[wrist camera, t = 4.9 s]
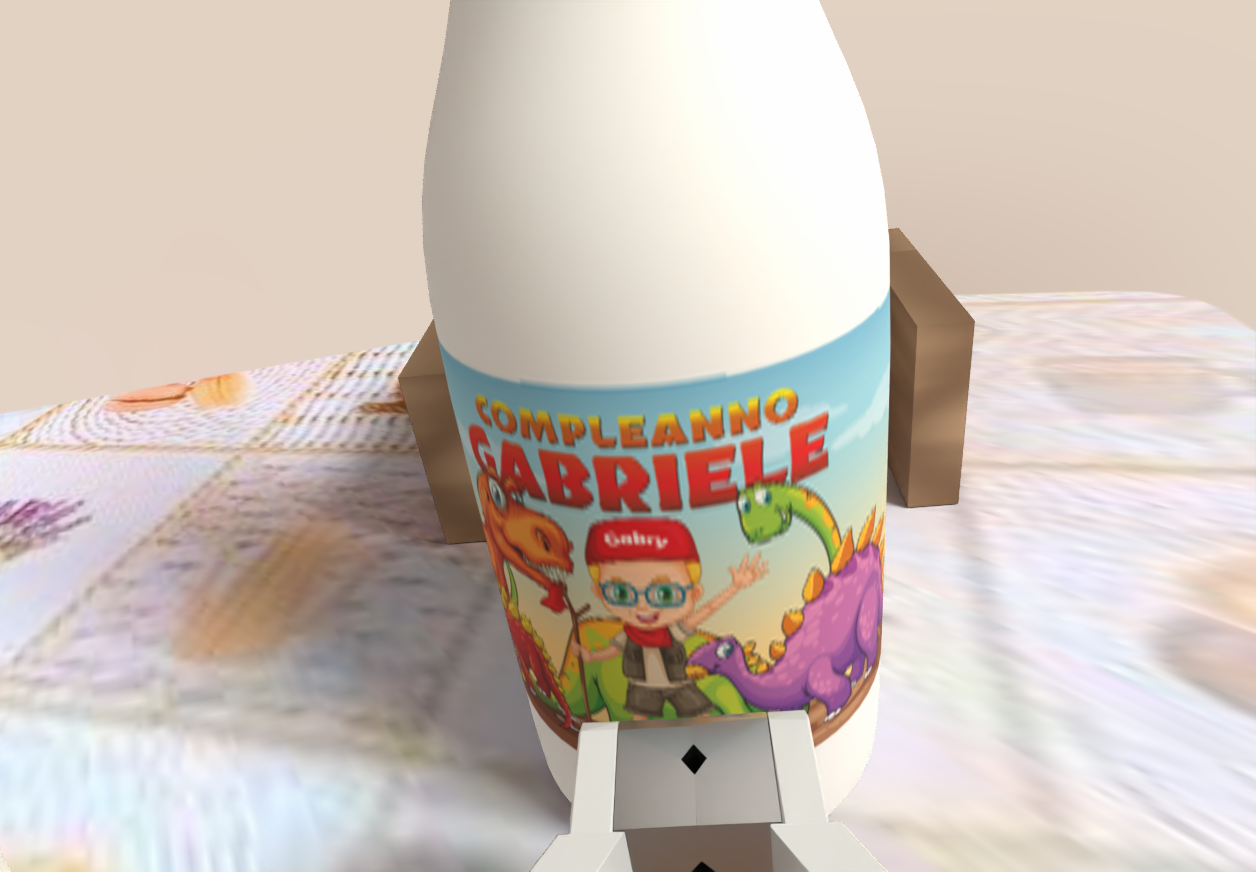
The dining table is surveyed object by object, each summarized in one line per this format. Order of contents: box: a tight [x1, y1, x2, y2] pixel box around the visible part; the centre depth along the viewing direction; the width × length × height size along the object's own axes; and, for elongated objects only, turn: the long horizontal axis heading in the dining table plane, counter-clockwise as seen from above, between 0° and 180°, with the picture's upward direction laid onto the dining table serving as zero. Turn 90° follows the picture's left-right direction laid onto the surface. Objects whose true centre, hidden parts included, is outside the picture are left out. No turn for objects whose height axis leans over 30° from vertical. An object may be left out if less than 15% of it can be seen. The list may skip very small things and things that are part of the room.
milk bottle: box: [422, 0, 890, 816], centre depth 15 cm, size 8×8×20 cm
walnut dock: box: [398, 228, 975, 544], centre depth 28 cm, size 16×8×6 cm, turn 88°
